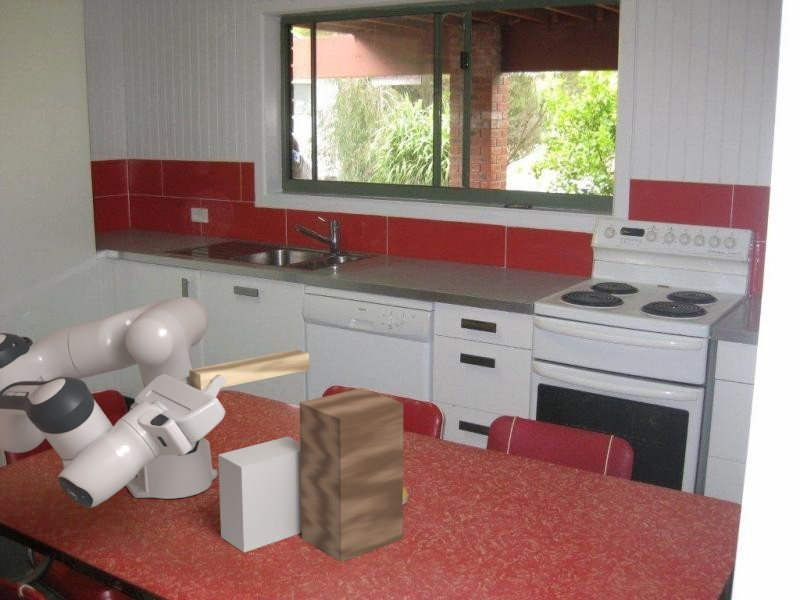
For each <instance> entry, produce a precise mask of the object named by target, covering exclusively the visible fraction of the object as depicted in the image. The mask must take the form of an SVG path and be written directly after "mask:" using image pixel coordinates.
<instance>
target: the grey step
mask: <svg viewBox="0 0 800 600" xmlns="http://www.w3.org/2000/svg"><path fill="white" fill-rule="evenodd" d="M217 456H218V457H217V459H218V482H219V483H218V485H219V486H218V487H219V488H218V489H219V509H220V510H219V512H220V519H219V520H220V537H221V539H223V540H224V541H227V542H228V543H229V544H231V545H232V546H233V547H236V549H238V550H239V551H241V552H242V553H247V552H249V551H253V550H257V549H259V548H262V547H265V546H267V545H270V544H273V543H276V542H279V541H282V540H285V539H287V538H291V537H294V536H297V535H299V534H302V519H301V458H300V440H299V441H298V440H296V439H294V438H293V437H290V436H285V437H281V438H277V439H273V440H269V441H265V442H261V443H257V444H254V445H250V446H246V447H242V448H238V449H235V450H231V451H227V452H223V453H219V454H217Z"/></svg>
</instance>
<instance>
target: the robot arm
mask: <svg viewBox="0 0 800 600" xmlns="http://www.w3.org/2000/svg"><path fill="white" fill-rule="evenodd" d="M209 324H210V318H209V312H208V310H207V308H206V306H205V305H204V304H203V303H202V302H201V301H200V300H198V299H196V298H195V297H194V298H193V297H190V296H176V297H172V298H168V299H164V300H160V301H156V302H153V303H150V304H146V305H143V306H140V307H135V308H133V309H129V310H127V311H123V312H120V313H116V314H114V315H110V316H105V317H101V318H97V319H94V320H90V321H85V322H82V323H78V324H74V325H70V326H65V327H64V328H60V329H58V330H56V331H53V332H49V333H48V334H46V335H44V336H42V337H40V338H38V339H36V341H35V342H33V340H32V339H31V338H30V337H28V336H19V335H17V334H15V333H14V334H13V333H7V332H0V451H3V452H4V451H5V452H7V453H14V454H21V453H22V454H23V453H27V452H29V451H32V450H34V449H36V448H37V447H38V446H39V445H41V443H43V442H44V440H45V439H46V440H47V442H48V443H49V444H50V446H51V447H52V449H54V451H55V452H56V453H57V454H58V456H59V458H60V459H61V460H62V461H61V462H62V464H63V465H62V467H63V470H61V472H60V473H59V474H58V476H57V482H58V484H59V486H60V488H61V489H62V490H63V491H64V493H65V494H66V495H67V496H68V497H70V498H71V499H72V500H73V501H74V502H75V503H77V504H78V505H79V506H82V507H85V508H89V509H90V508H94V507H97V506H98V505H101V504H102V503H103V502H105V501H107V500H108V499H109V498H111V497H113V496H114V495H115V494H116V493H118V492H119V491H120V490H122V489H123V488H124V487H126V488H127V489H128V490H129V493H131V495H132V496H133V497H134V498H136V499H141V498H144V499H145V498H155V499H165V500H169V499H170V500H171V499H179V498H180V499H181V498H187V497H192V496H194V495H197V494H200V493H202V492H204V491H206V490H208V489H210V487H211V485H212V483H213V480H214V479H216V478H217V477H219V473H218V470H217V469H214V468H213V464H212V456H211V454H212V453H211V448H210V442H209V440H207V438H205V436H206V435H208V434H209V433H210V432H211V431H212V430H213V429H214V428H215V427H217V426H218V425H219V424H220V423H221V422H222V421H223V420H224V417H225V415H226V410H225V408H224V405H222V403H221V402H220V400H219V399H218V398H217V396H218V395H219V392H220V390H221V389H223V388H224V387H223V386H224V385H225V384H226V380H225V378H224V377H223V376H221V375H219V374H217V375H215V377H213V378H212V379H211V383H210V385H209V386H208V388H206V387H205V388H204V389H203V390H198V389H196V388H194V387H192V386H190V382H189V370H191V369H193V366H192V362H191V359H190V358H191V357H190V353H191V348H193V347H194V346H196V345H198V343H200V341H201V340H202V339H203V338H204V337H205V336H204V335H205V334H206V333H207V329H208V328H209ZM135 365H137V367H138V370H139V373H140V377H141V380H142V381H141V382H142V386H143V389H141V391H140V392H139V393H138V394H137V395H136V396H135V397H134V402H133V403H132V404H131V405H130V409H129V411H128V412H127V413H126V414H124V415H123V416H122V417H121V418H120V419H117V421H116V423H115V424H114V425H113V424H112V422H111V421H110V420H109V418H108V417H107V415H106V414H105V413H104V411H103V410H102V408H101V407H100V405H99V404H98V403H97V402H96V400H95V399H94V396H93V394H92V393H91V391H90V389H89V388H88V386H87V384H86V383H85V381H83V380H82V379H85V378H89V377H93V376H99V375H102V374H106V373H111V372H115V371H119V370H123V369H127V368H128V367H132V366H135ZM222 387H223V388H222Z"/></svg>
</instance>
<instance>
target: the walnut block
mask: <svg viewBox="0 0 800 600" xmlns="http://www.w3.org/2000/svg"><path fill="white" fill-rule="evenodd" d="M299 439H300V440H299V442H300V458H301V519H302V533H301V539H302V540H303V541H305V542H307V543H308V544H310V545H311V546H313V547H315V548H316V549H318V550H319V551H322V552H324V554H327V555H328V556H330V557H331V558H333V559H335V560H336V561H338V562H340V563H344V562H346V561H349V560H352V559H354V558H357V557H359V556H362V555H365V554H368V553H370V552H372V551H376V550H377V549H380V548H382V547H385V546H389V545H391V544H393V543H396V542H398V541H401V540H403V535H404V534H403V530H404V528H403V527H404V526H403V523H404V522H403V521H404V520H403V513H404V512H403V511H404V510H403V506H404V505H403V487H404V402H401V401H400V400H399V401H398V400H396V399H394V398H391V397H389V396H384V395H383V394H379V393H376V392H374V391H372V390H368V389H365V388H363V387H360V388H356V389H352V390H351V389H350V390H347V391H343V392H339V393H335V394H334V393H333V394H330V395H326V396H321V397H318V398H313V399H309V400H306V401H305V400H304V401H300V402H299Z"/></svg>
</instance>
